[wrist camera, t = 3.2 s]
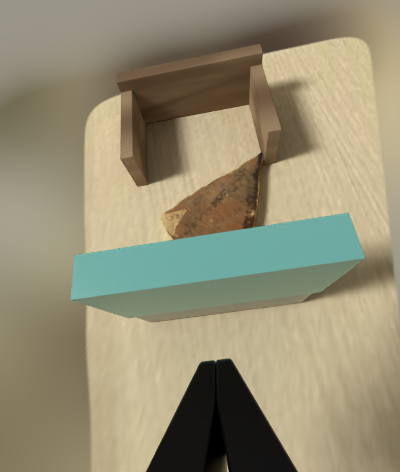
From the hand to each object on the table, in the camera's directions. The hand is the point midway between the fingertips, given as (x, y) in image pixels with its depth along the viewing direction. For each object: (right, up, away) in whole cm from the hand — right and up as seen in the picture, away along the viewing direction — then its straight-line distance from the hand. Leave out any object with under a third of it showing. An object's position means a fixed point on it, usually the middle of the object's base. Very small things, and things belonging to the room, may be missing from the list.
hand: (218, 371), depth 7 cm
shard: (0, +5, +17) cm, 18 cm away
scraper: (+1, -1, +13) cm, 13 cm away
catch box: (-1, +13, +20) cm, 24 cm away
